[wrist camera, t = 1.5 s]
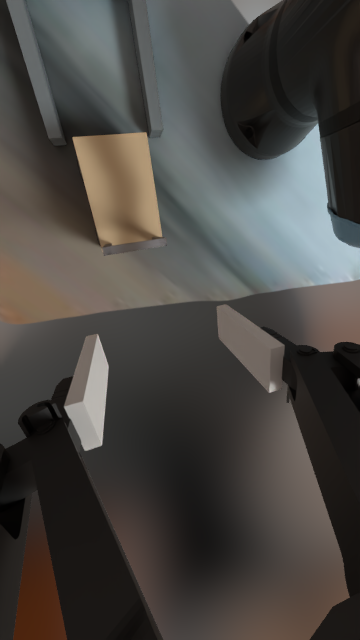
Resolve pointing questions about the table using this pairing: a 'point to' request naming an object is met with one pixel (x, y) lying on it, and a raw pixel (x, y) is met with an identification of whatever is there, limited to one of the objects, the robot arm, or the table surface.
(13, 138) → the table surface
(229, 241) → the table surface
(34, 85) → the frame
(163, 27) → the table surface
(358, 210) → the robot arm
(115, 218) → the cart
